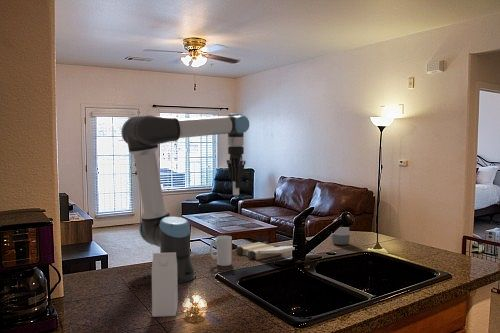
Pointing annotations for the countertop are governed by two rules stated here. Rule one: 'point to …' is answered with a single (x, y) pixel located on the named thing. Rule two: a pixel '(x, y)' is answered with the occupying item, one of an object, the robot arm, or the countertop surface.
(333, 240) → the smart speaker
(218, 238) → the mug
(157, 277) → the milk carton
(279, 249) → the panel
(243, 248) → the flatbed
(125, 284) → the countertop surface
